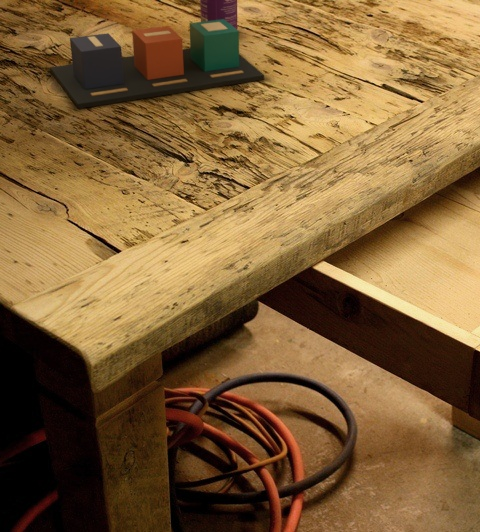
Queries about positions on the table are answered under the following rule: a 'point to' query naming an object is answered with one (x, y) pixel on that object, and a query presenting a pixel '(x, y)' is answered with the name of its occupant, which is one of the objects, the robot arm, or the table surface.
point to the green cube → (214, 45)
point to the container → (219, 11)
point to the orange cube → (158, 52)
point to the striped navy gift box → (97, 61)
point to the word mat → (152, 82)
